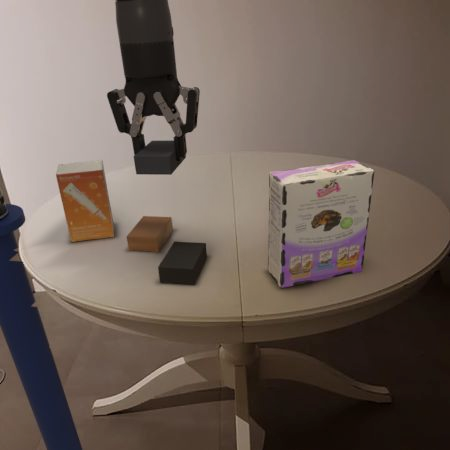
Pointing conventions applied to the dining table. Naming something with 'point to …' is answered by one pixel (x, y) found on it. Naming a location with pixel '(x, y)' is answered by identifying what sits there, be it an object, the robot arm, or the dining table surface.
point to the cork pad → (150, 234)
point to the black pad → (183, 263)
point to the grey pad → (157, 159)
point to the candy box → (318, 221)
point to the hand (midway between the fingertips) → (161, 159)
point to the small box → (85, 200)
